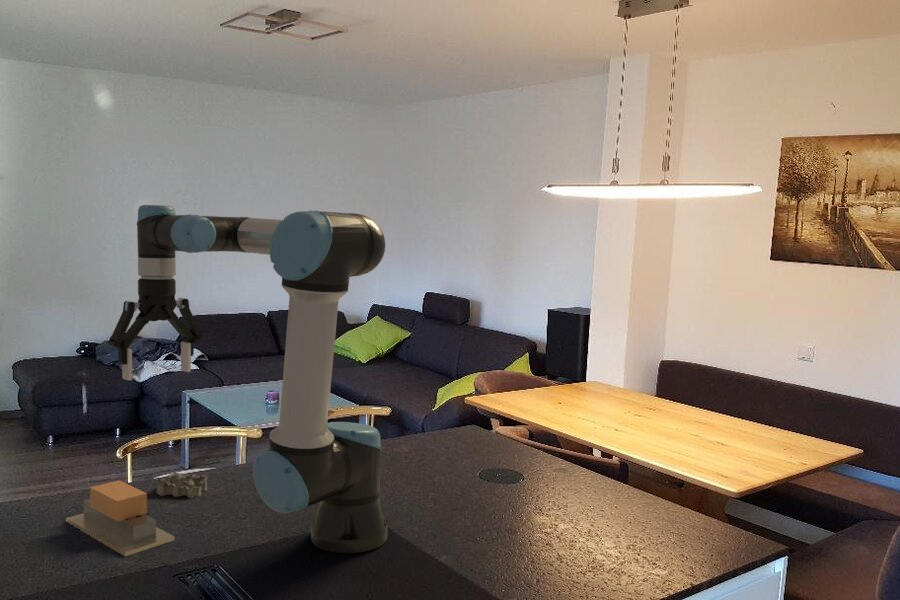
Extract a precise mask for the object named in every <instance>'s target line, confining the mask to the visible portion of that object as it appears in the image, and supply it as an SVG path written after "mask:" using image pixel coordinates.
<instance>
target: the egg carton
mask: <svg viewBox="0 0 900 600" xmlns="http://www.w3.org/2000/svg"><path fill="white" fill-rule="evenodd" d="M209 474H210V473H208V474H204V475H203V474H201V475H199V474H197V475H196V474H195V473H192V474H182V473H179V472H172V473H169V474H168V475H165V476H164V477H163V478H161V479H159V478H154V482H156V494H157V495H159V496H161V497H163V496H166V495H168V496H169V495H171V496H173V497H181V496H187V498H196V497H200V496H202V492H206V491H207V490H208V478H209Z"/></svg>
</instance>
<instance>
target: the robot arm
mask: <svg viewBox="0 0 900 600" xmlns="http://www.w3.org/2000/svg"><path fill="white" fill-rule="evenodd" d="M136 226H137V227H136V229H137V235H136V236H137V275H138V277H140V278H138V280H137V294H138V300H137V302H136V301H135V302H134V301H129V300H125V301H124V302H123V305H122V313H121V315H120V317H119V319H118V322H117V323H116V326H115V327H114V330H113V333H112V334H111V336H110V338H109V341H108V345H109V346H110V347H113V348H116V349H117V356H118V357H117V358H118V360H117V362H118V364H119V365H122V367H121V374H122V377H121V378H122V379H123V380H127V381H133V349H132V348H129V347H130V346H131V345H132V343H133V342H134V341H135V339H136V338H137V337H138V335H139V333H141V331H142V330H143V329H144V327H145V326H146V325H147V324H149V322H158V321H162V322H163V321H165V322H166V321H168V322H169V324H170V325H171V326H172V327H173V328H174V329H175V331H176V332H177V333H178V334H179V335H180V336H181V338H182V339H183V340H184V341H180V371H181V372H186V373H190V372H191V371H192V370H191V368H192V367H191V365H192V362H191V361H192V359H191V357H194V354H195V351H194V349H195V347H194V346H195V345H194V343H196V342H197V340H199V339H202V338H203V334H202V332H201V330H200V327H199V326H198V323H197V322H196V319H195V317H194V315H193V313H192V311H191V308H190V300H189V299H188V298H183V297H179V298H178V299H176V297H175V296H176V292H177V291H176V289H177V288H176V287H177V286H176V285H177V283H176V279H175V278H174V277H175V276H176V275H177V270H176V252H185V253H186V254H187V253H188V254H193V253H195V254H197V253H204V252H205V253H206V252H209V253H210V252H237V253H246V254H249V253H251V254H259V255H266V256H267V255H268V256H269V259H270V262H271V263H273V265H272V267H273V270H274V271H275V272H276V274H277V275H278V276H280V277H281V287H282V288H283V289H284V291H285V292H287V294H288V296H289V298H288V299H289V301H288V312H287V323H286V337H285V350H284V360H283V361H284V363H283V373H282V386H281V395H280V396H281V398H280V410H279V411H280V412H279V424H278V425H277V426H276V427H275V428H274V429H272V430H271V431H270V432H269V438H268V440H269V441H268V449H267V450H263V451H262V452H261V453H259V455H258V456H257V457H256V458H255V459H254V461H253V467H252V478H253V482H254V486H255V489H256V491H257V493H258V494H259V496H260V498H261V500H262V501H263V502H264V503H265V504H266V505H267V506H268V507H269V508H270V509H271V510H272V511H275V512H277V513H280V514H289V513H292V512H296V511H303V510H305V509H306V508H308V507H310V506H313V505H315V504H319V505H318V507H317V510H316V515H315V520H314V522H313V523H312V526H311V528H310V529H311V530H310V531H311V532H310V540H311V543H312V544H313V545H314V546H315V547H316V548H318V549H320V550H323V551H326V552H329V553H335V554H336V553H337V554H357V553H358V554H359V553H364V552H368V551H372V550H374V549H377V548H380V547H381V546H383V545H384V543H385V544H386V542H387V539H388V524H387V521H386V520H385V516H384V511H383V509H382V505H381V502H380V490H381V488H380V484H381V481H380V480H381V456H382V455H381V454H382V453H381V452H382V445H381V434H380V431H379V430H378V429H377V428H376V427H374V426H372V425H368V424H366V423H361V422H360V423H359V422H358V423H357V422H350V421H330V422H328V420H329V409H330V398H331V388H332V378H333V377H332V376H333V366H334V356H335V345H336V344H335V342H336V334H337V333H336V332H337V322H338V321H337V320H338V309H339V301H340V299H341V298H342V297H343V296H345V295H346V294H347V293H348V292H349V286H350V285H349V283H350V277H351V278H352V277H360V276H362V275H366V274H369V273H371V272H372V271H374V270H375V269H376V268H377V267H378V266H379V264H380V263H381V262H382V260H383V257H384V254H385V253H386V238H385V235H384V232H383V230H382V228H381V226H380V225H379V224H378V223H377V222H376V221H375V220H374V219H372V218H371V217H368V215H367V216H366V215H364V214H360V213H353V212H348V213H347V212H334V211H321V210H317V209H316V210H305V211H303V210H302V211H301V210H300V211H296V212H293V213H292V212H291V213H290V214H288V215H287V216H285V217H284V218H283V219H277V218H275V219H274V218H273V219H272V218H257V217H249V216H240V217H239V216H238V217H237V216H215V215H199V214H191V213H190V214H177V215H176V210H175V207H174V206H172V205H163V204H162V205H160V204H159V205H157V204H142V205H140V206H138V209H137V221H136ZM176 308H177V309H178V311H179V313H180V315H181V317H182V319H183V321H184V323H185V325H184V323H183V322H182V321H181V320H180V318H179V316H178V315H177V314H176V313H175V312H174V311H175V309H176ZM137 309H138V310H137ZM136 311H139V313H137V316H136V317H135V320H134V321H133V323H132V324H131V322H132V320H133V317H134V314H135V313H136ZM130 324H131V325H130ZM129 326H130V327H129Z"/></svg>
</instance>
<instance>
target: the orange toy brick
mask: <svg viewBox="0 0 900 600" xmlns="http://www.w3.org/2000/svg"><path fill="white" fill-rule="evenodd" d="M89 495H90V496H89V497H90V498H89V499H90V507H92V508H94V509H95V510H97V511H99V512H101V513H103V514H105V515H106V516H108V517H110V518H112V519H114V520H116V521H121V520H124V519H125V520H130V519H134V518H136V516H138V515H141V514H145V515H146V514H147V513H148V502H147V501H148V496H147V495H148V494H147V492H145V491H142V490H140V489H139V488H137V487H134V486H132V485H129V484H128V483H126V482H124V481H121V480H115V481H110V482H107V483H103V484H100V485H94V486H90V487H89Z"/></svg>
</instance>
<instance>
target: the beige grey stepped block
mask: <svg viewBox="0 0 900 600" xmlns="http://www.w3.org/2000/svg"><path fill="white" fill-rule="evenodd" d="M65 522H66V523H67V522H68V524H69V525H70V526H72V525H73V526H72V527H74V528H75V529H77V528H78V530H79V529H80V532H83V533H84V534H86V535H87V536H89V535H90V537H91V538H92V539H95V540H96V541H98V542H99V543H102V544H103V545H105V546H107V547H108V548H110V549H111V550H113V551H114V552H116V553H118V554H119V555H121V556H124V557H128V556H131V555H133V554H137V553H139V552H143V551H146V550H149V549H152V548H155V547H159V546H161V545H164V544H167V543H170V542H174V541H175V535H172V534H171V533H169V532H167V531H165V530H163V529H161V528H159V527H158V526H157V520H156V519H154V518H153V517H151V516H149V515H147V514H146V513H145V514H141V515H138V516H136V518H134V519H130V520H125V519H124V520H121V521H116V520H114V519H112V518H110V517H108V516H106V515H105V514H103V513H101V512H99V511H97V510H95V509H94V508H92V507H90V498H87V499H84V500H83V513H80V514H77V515H76V514H75V515H73V516H69V517H65Z"/></svg>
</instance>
